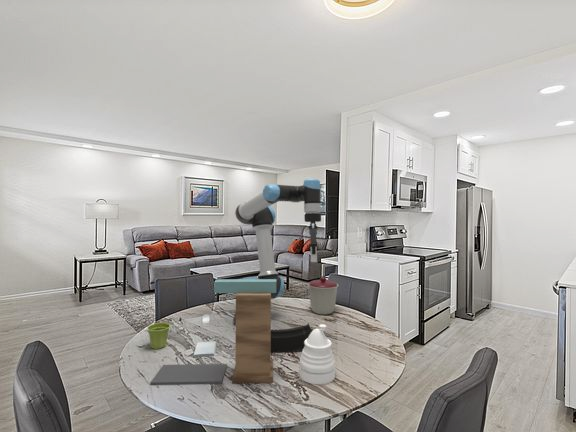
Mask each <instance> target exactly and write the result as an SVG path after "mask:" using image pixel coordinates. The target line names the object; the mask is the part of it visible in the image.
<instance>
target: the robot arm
mask: <svg viewBox="0 0 576 432" xmlns="http://www.w3.org/2000/svg"><path fill="white" fill-rule="evenodd" d="M321 196H322V195H321V181H320V179H318V178H307V179H304V181H303V185H286V184H275V183H272V184H271V183H269V184H265V186H264V188H263V189H262V192H261V193H259V194H258V195H256V196H254V197H253V198H251V199H250V200H248V201H244V202H243V201H242V202H241V203H240V204H239V205H237V207H236V209H235V213H234V214H235V218H236V219H237V220H238V222H239V223H241V224H243V225H250V226H251V227H252V229H253V230H254V231H255V238H256V247H257V256H258V263H259V264H258V266H259V274H258V275H257V276H247V277H243V278H242V277H241V279H276V293H271V300H274V299H277V298H280V297H282V295H283V293H284V291H285V282H284V280H283V277H282V276H280V275H279V272H277V270H276V265H275V256H274V249H273V248H274V247H273V241H272V233H271V229H272V227H273V224H274V223H275V221H276V212H275V210H274V208H273V206H272V205H274V204H276V203H278V202H289V203H290V202H291V203H300V202H301V203H302V202H304V203H303V211H304V214H303V215H304V217H303V218H304V222H305V223H308V222H309V223H310V224H309V226H308V231H309V232H308V233H309V235H310V242H309V243H310V244H308V246H309V247H310V263H317V262H318V250H317V249H318V246H317V245H318V242H317V235H318V225H317V223H319V222H322V214H321V212H322V211H321V210H322V209H323V205H322V204H321V202H322V200H321ZM316 222H317V223H316ZM309 247H308V248H309ZM232 324H233V325H234V326H236V311H235V312H234V316H233V318H232Z"/></svg>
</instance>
